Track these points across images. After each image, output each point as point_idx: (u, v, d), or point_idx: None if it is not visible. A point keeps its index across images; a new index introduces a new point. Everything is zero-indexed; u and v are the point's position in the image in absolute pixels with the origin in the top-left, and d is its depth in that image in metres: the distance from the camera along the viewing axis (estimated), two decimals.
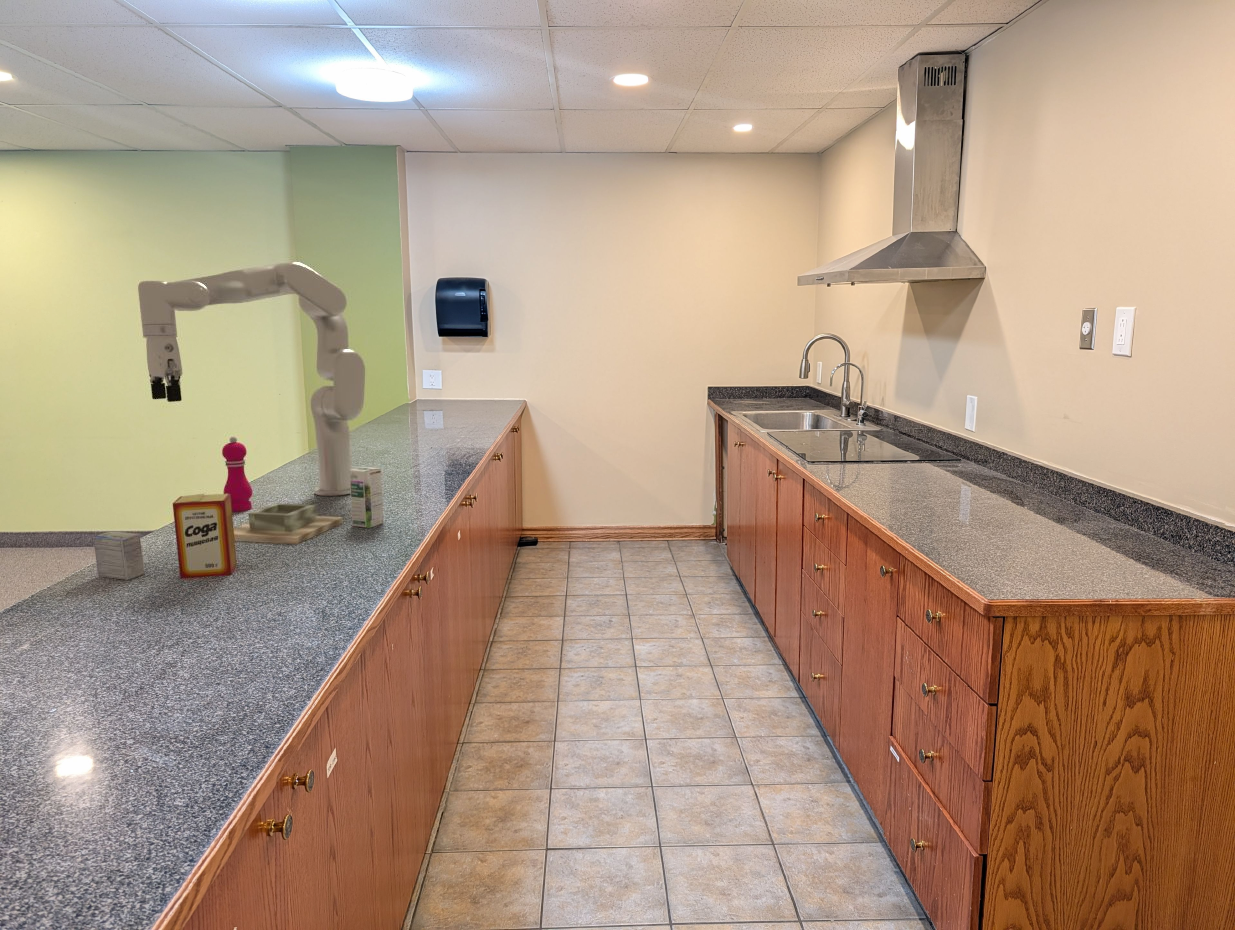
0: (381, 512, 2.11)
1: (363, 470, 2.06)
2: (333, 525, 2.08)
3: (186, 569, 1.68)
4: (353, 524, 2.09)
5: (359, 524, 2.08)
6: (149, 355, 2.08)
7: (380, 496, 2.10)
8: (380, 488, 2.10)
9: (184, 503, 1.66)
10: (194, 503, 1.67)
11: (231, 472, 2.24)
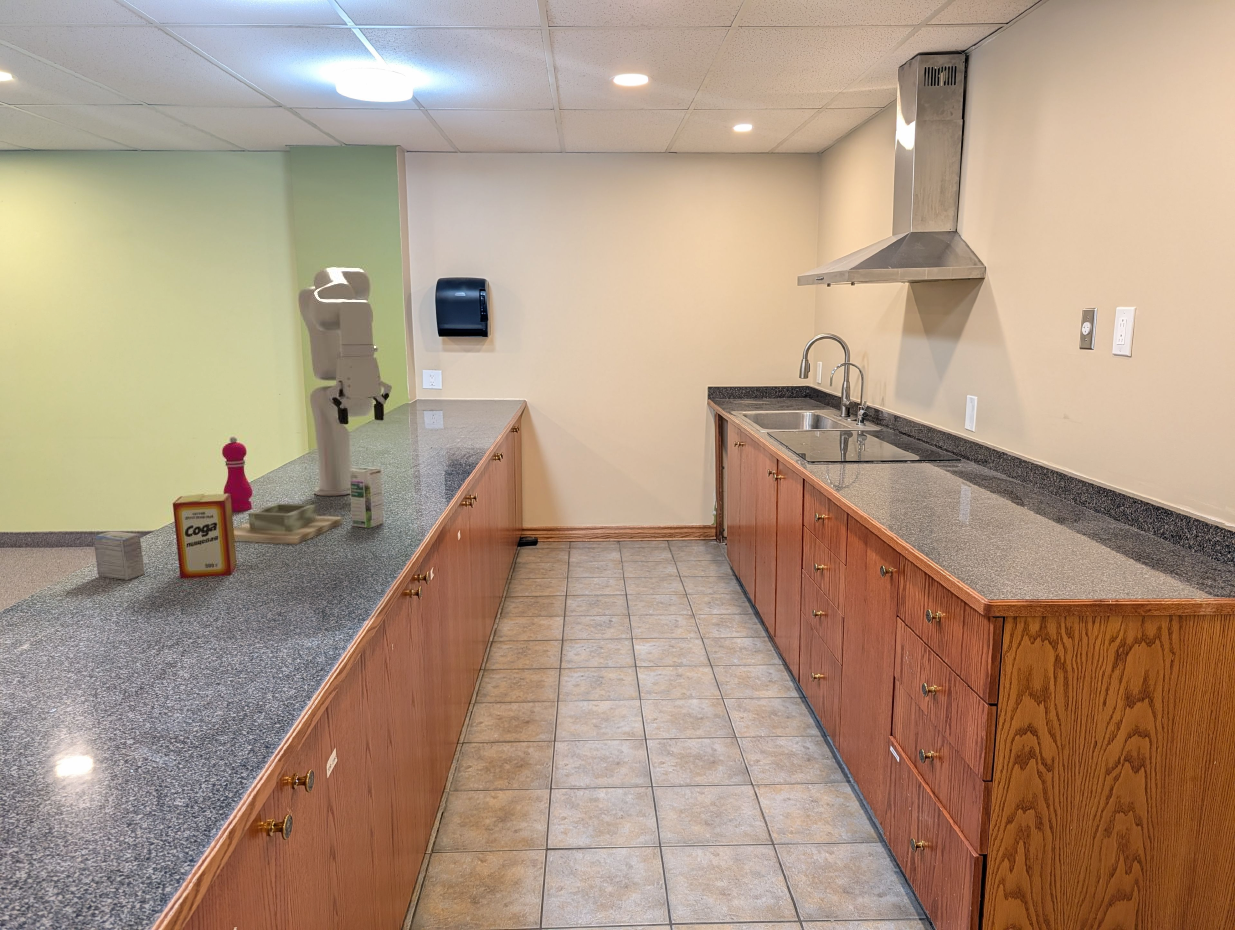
0: (381, 512, 2.11)
1: (363, 470, 2.06)
2: (333, 525, 2.08)
3: (186, 569, 1.68)
4: (353, 524, 2.09)
5: (359, 524, 2.08)
6: (358, 377, 2.01)
7: (380, 496, 2.10)
8: (380, 488, 2.10)
9: (184, 503, 1.66)
10: (194, 503, 1.67)
11: (231, 472, 2.24)
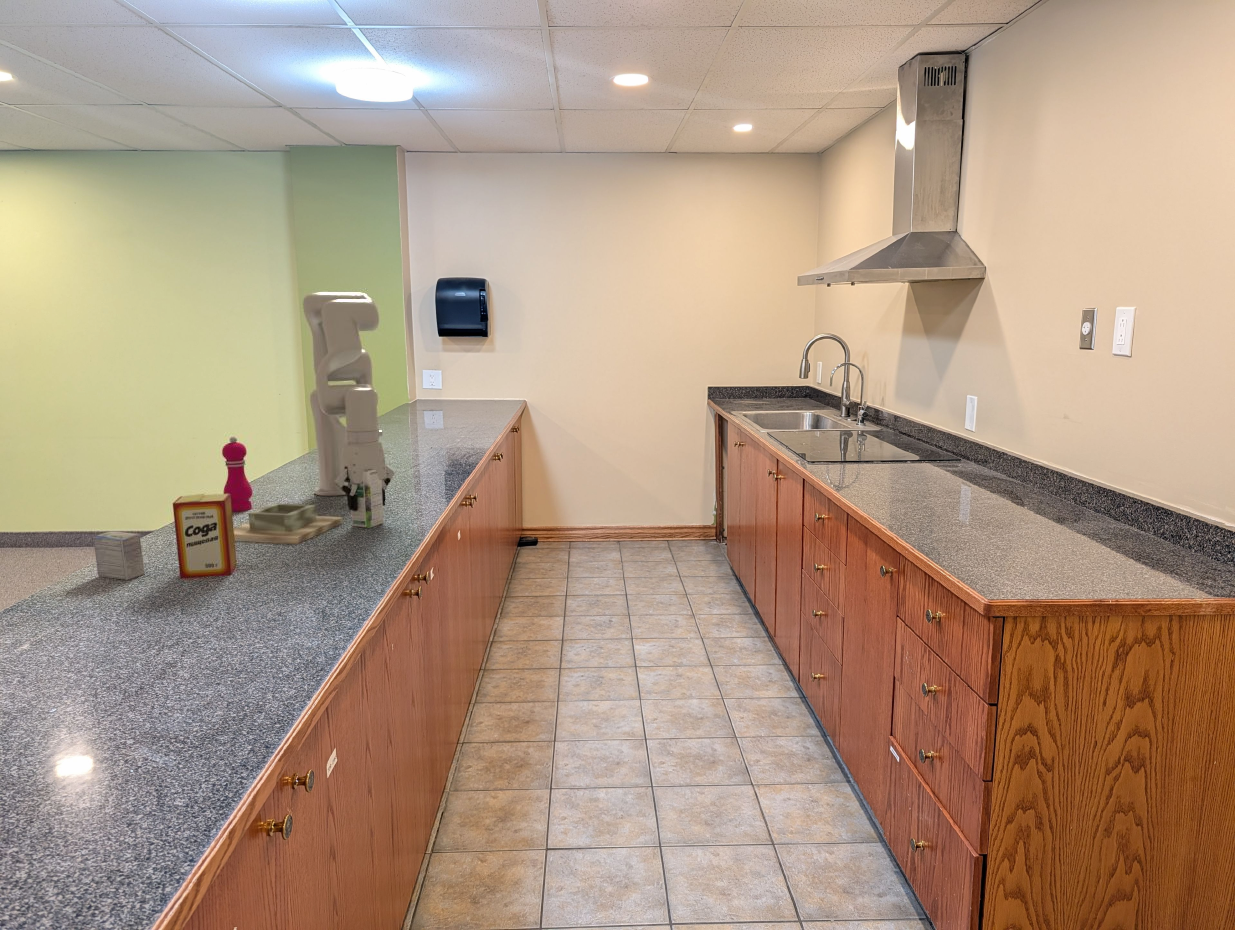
0: (381, 512, 2.11)
1: None
2: (333, 525, 2.08)
3: (186, 569, 1.68)
4: (353, 524, 2.09)
5: (359, 524, 2.08)
6: (364, 462, 2.05)
7: (380, 496, 2.10)
8: (380, 488, 2.10)
9: (184, 503, 1.66)
10: (194, 503, 1.67)
11: (231, 472, 2.24)
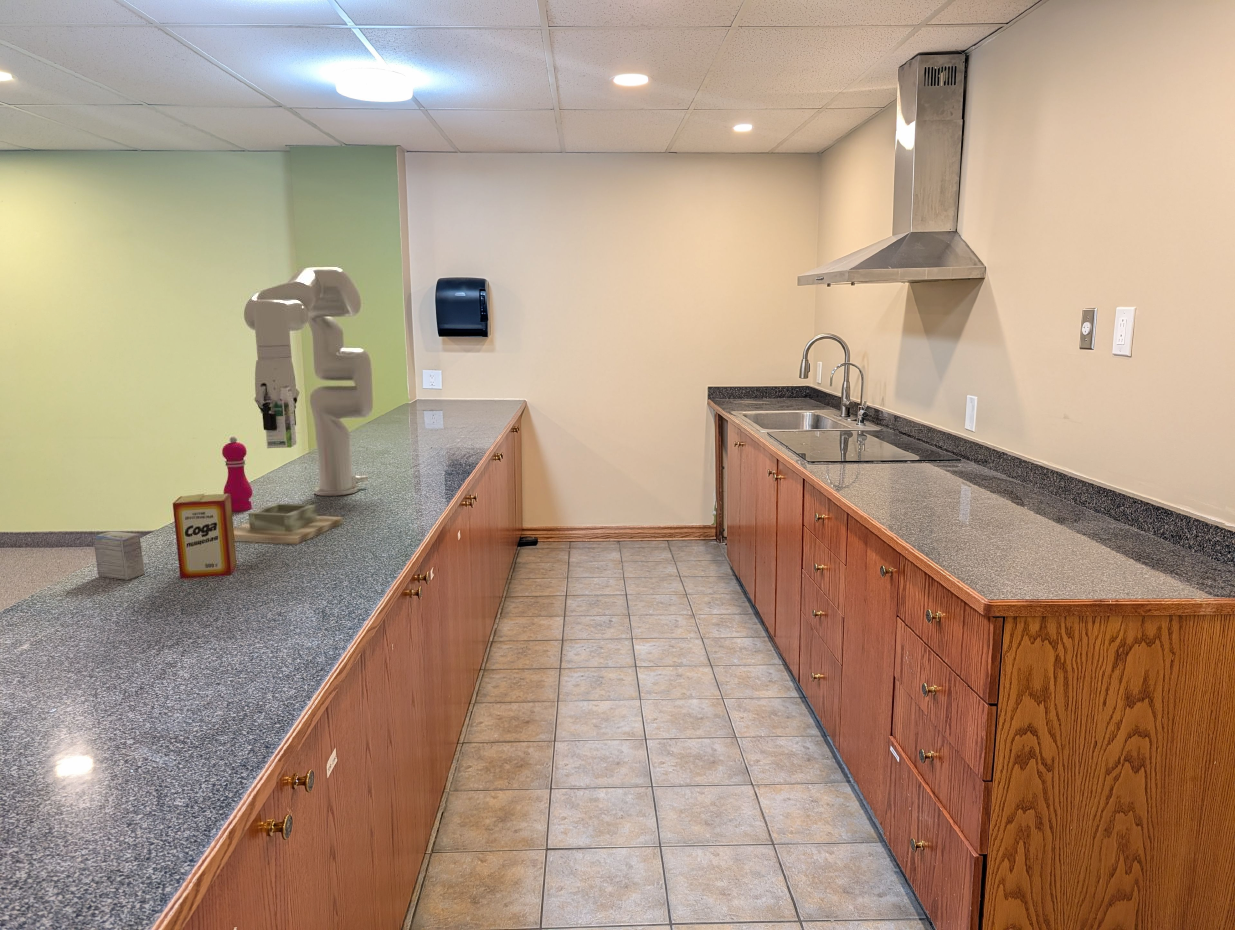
0: (295, 432, 2.03)
1: None
2: (333, 525, 2.08)
3: (186, 569, 1.68)
4: (269, 445, 1.98)
5: (277, 445, 1.98)
6: (281, 378, 1.96)
7: (293, 415, 2.02)
8: (293, 407, 2.02)
9: (184, 503, 1.66)
10: (194, 503, 1.67)
11: (231, 472, 2.24)
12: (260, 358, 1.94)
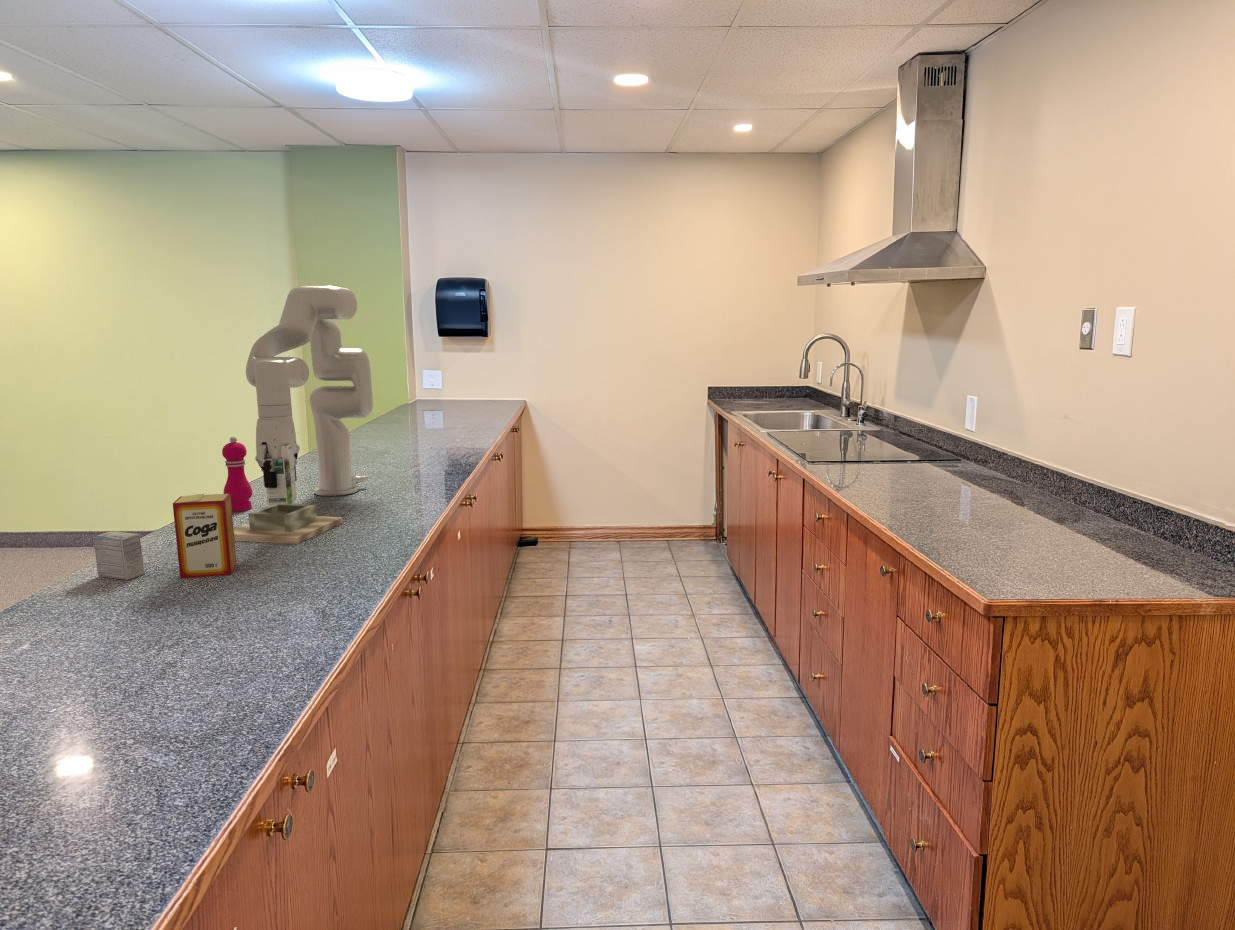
0: (295, 488, 2.05)
1: None
2: (333, 525, 2.08)
3: (186, 569, 1.68)
4: (270, 502, 2.00)
5: (278, 502, 2.01)
6: (282, 437, 1.99)
7: (294, 471, 2.05)
8: (293, 463, 2.04)
9: (184, 503, 1.66)
10: (194, 503, 1.67)
11: (231, 472, 2.24)
12: (261, 417, 1.97)
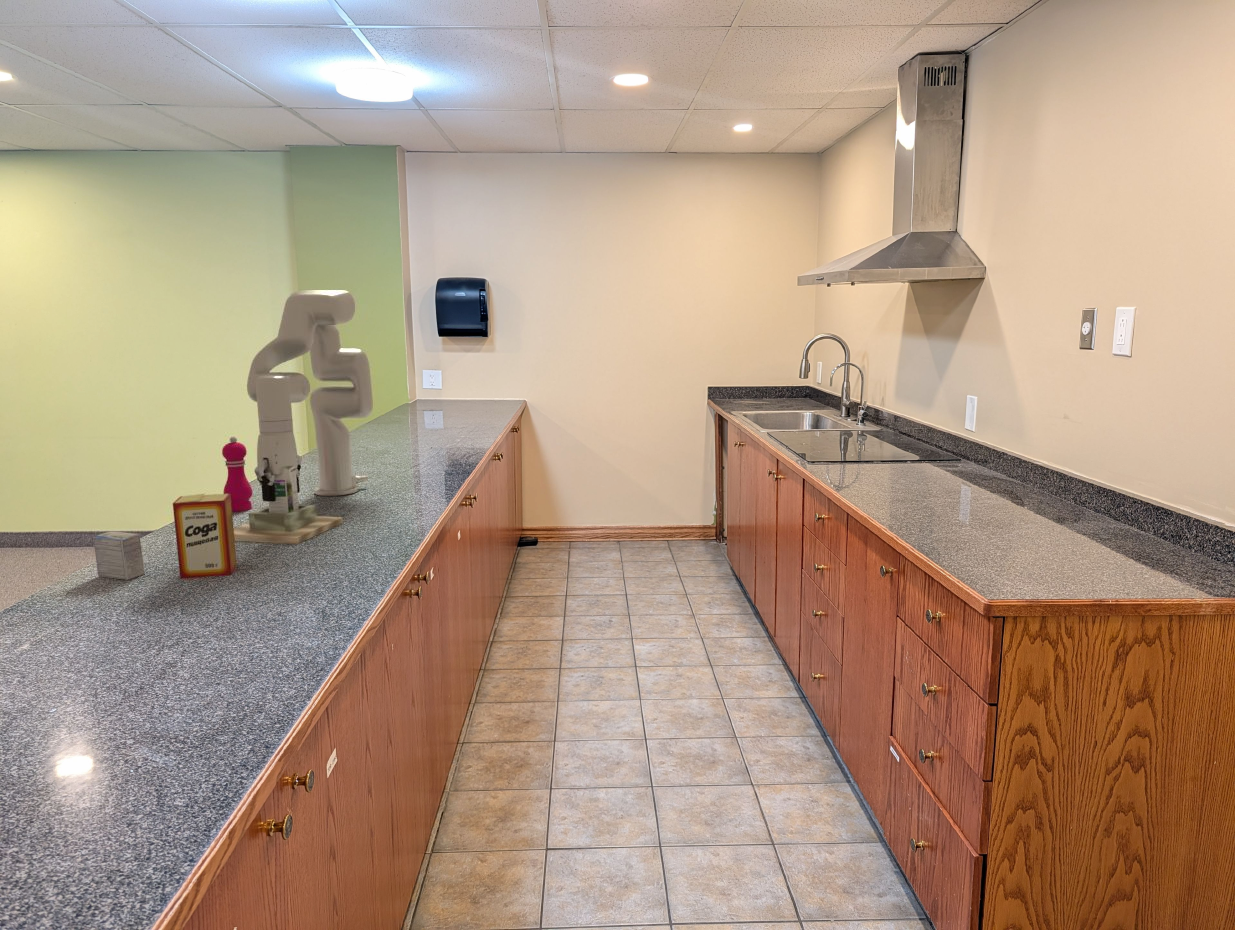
0: None
1: None
2: (333, 525, 2.08)
3: (186, 569, 1.68)
4: None
5: None
6: (283, 452, 1.99)
7: (297, 494, 2.06)
8: (296, 486, 2.06)
9: (184, 503, 1.66)
10: (194, 503, 1.67)
11: (231, 472, 2.24)
12: (262, 433, 1.97)
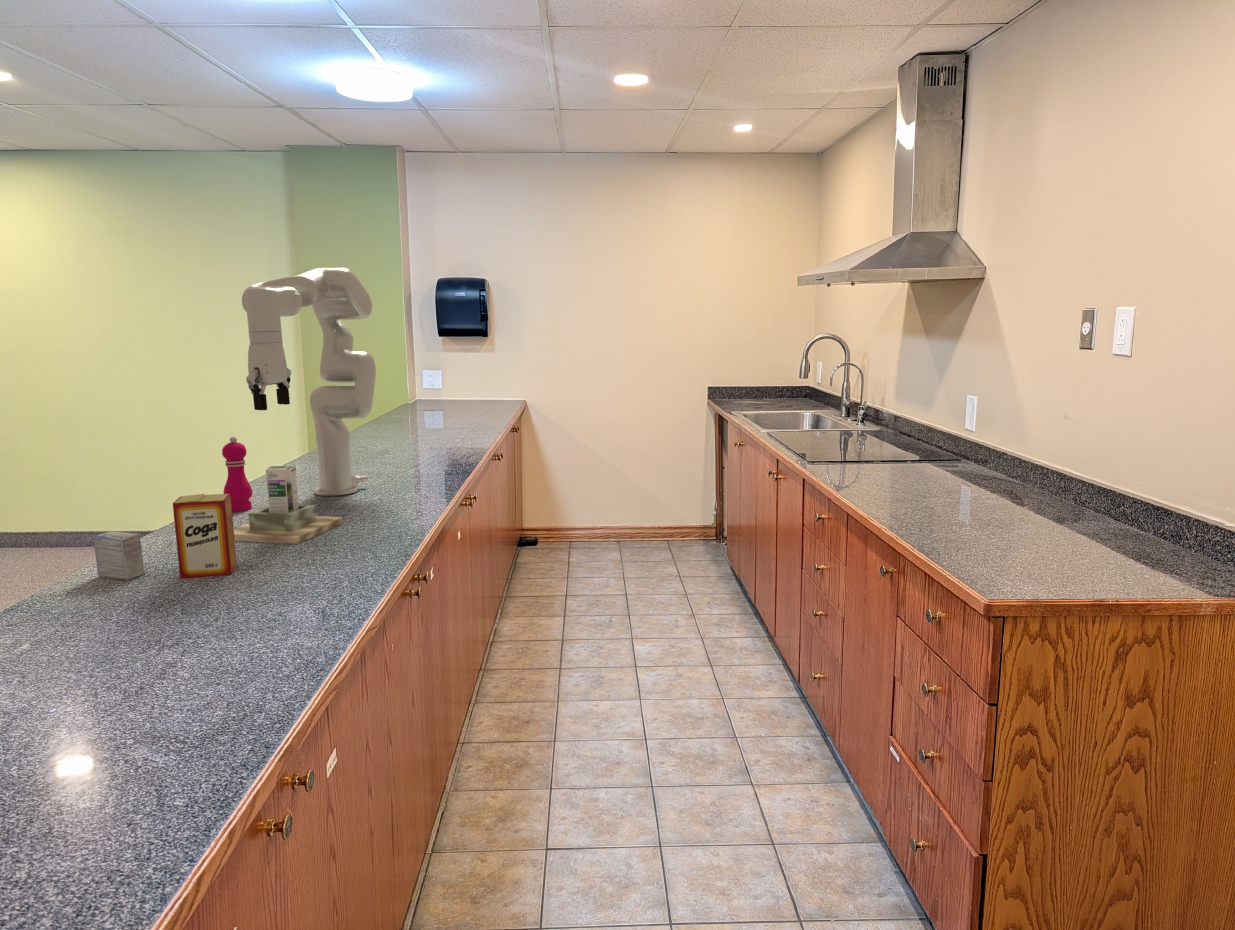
0: None
1: (283, 468, 2.01)
2: (333, 525, 2.08)
3: (186, 569, 1.68)
4: None
5: None
6: (273, 363, 2.06)
7: (297, 494, 2.06)
8: (296, 486, 2.06)
9: (184, 503, 1.66)
10: (194, 503, 1.67)
11: (231, 472, 2.24)
12: (252, 343, 2.04)
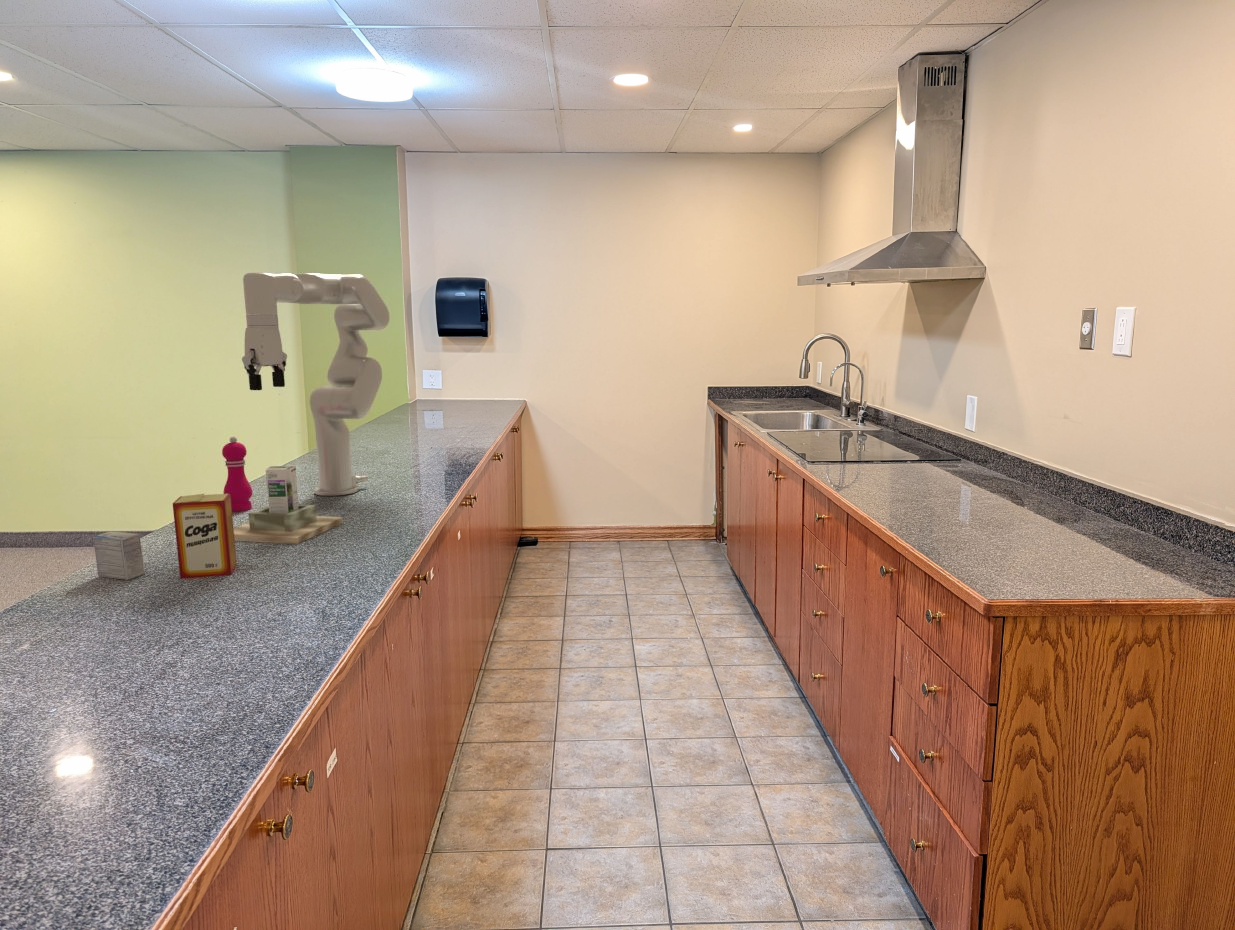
0: None
1: (283, 468, 2.01)
2: (333, 525, 2.08)
3: (186, 569, 1.68)
4: None
5: None
6: (269, 345, 2.14)
7: (297, 494, 2.06)
8: (296, 486, 2.06)
9: (184, 503, 1.66)
10: (194, 503, 1.67)
11: (231, 472, 2.24)
12: (249, 326, 2.12)
